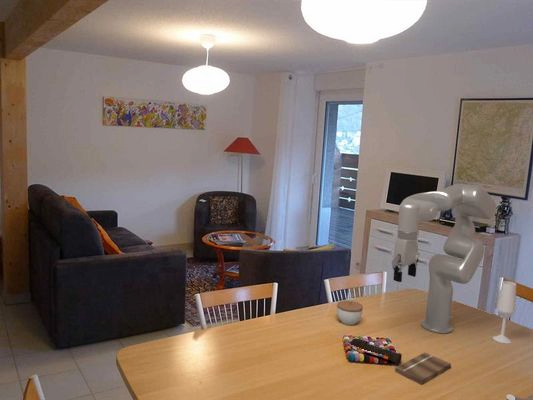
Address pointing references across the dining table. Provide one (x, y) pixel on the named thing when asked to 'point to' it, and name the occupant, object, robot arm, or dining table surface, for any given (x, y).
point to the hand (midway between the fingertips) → (404, 278)
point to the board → (422, 368)
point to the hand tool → (377, 350)
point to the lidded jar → (349, 312)
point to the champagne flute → (506, 307)
